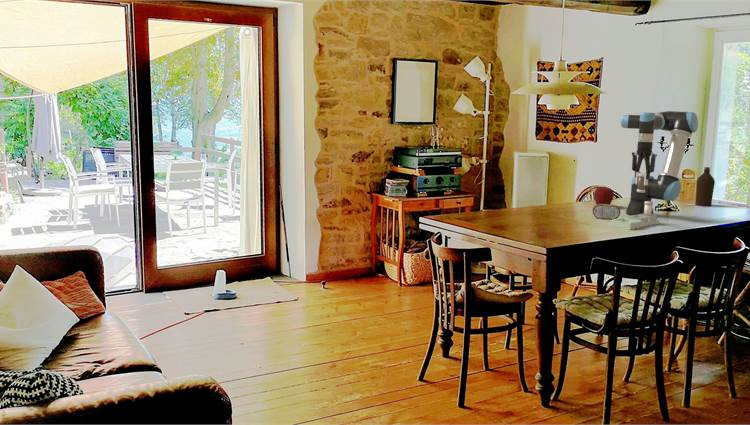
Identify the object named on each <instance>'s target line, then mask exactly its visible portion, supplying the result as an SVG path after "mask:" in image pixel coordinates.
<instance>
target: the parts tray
mask: <svg viewBox="0 0 750 425" xmlns="http://www.w3.org/2000/svg"><path fill="white" fill-rule="evenodd" d="M628 218H629V217H618V218H617V219H612V220H611V219H609V227H612V226H614V227H613V228H617V227H619V228H618V229H623V228H624V229H623V230H628V229H632V230H636V229H635V228H637V229H641V228H640V227H642V228H644V227H643V221H640V220H634V219H628Z"/></svg>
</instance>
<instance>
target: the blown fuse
mask: <svg viewBox="0 0 750 425" xmlns="http://www.w3.org/2000/svg"><path fill="white" fill-rule="evenodd" d="M644 176H645V173H642V172H640V173H638V188H637V192H640V193H645V185H644Z"/></svg>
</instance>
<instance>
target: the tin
mask: <svg viewBox="0 0 750 425" xmlns="http://www.w3.org/2000/svg"><path fill="white" fill-rule="evenodd" d="M592 215H593V216H594V217H595V218H596V219H601V220H611V219H617V218H620V215H621V209H620V207H619V206H618V205H616V204H610V205H609V204H595V205H594V206H593V207H592Z"/></svg>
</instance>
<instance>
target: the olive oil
mask: <svg viewBox="0 0 750 425" xmlns="http://www.w3.org/2000/svg"><path fill="white" fill-rule="evenodd" d="M710 172H711V167H710V166H709V167H708V166H705V167H704V170H703V173H702V174H700V176H699V177H698V178H697V179H696V188H695V190H696V191H695V206H698V207H711V206H712V202H713V196H714V188H715V184H716V182H715V178H714V176H712V174H710Z"/></svg>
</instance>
